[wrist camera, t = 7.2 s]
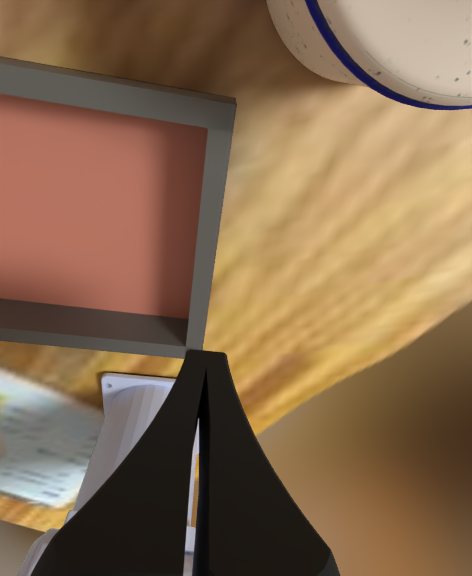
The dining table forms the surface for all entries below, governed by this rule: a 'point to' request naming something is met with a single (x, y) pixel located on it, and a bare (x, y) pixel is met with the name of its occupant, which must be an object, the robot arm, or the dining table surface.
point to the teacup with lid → (385, 46)
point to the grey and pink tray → (108, 209)
